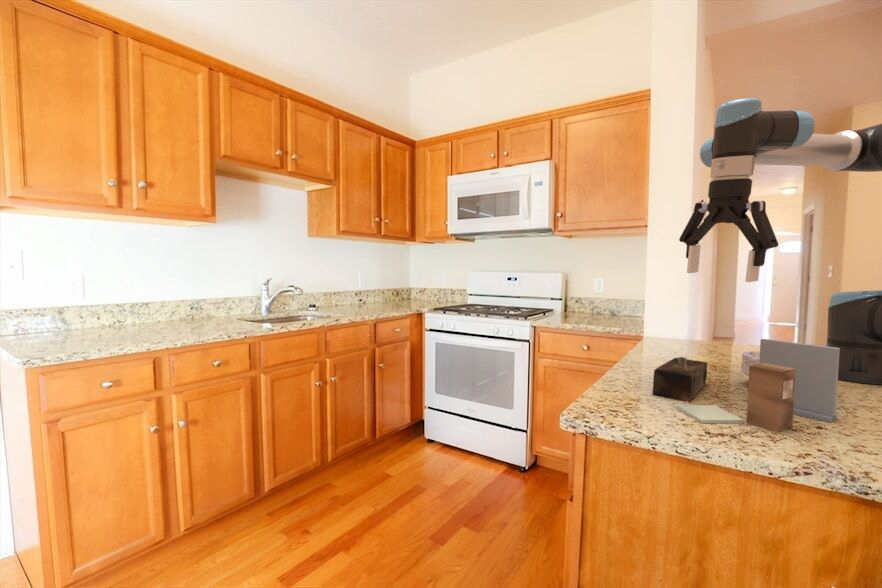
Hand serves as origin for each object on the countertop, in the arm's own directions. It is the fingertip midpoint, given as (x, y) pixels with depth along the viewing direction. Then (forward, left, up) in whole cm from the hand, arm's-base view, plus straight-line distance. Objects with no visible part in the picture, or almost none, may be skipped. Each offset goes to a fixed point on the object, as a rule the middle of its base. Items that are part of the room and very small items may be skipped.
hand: (719, 276), depth 90 cm
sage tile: (+10, +12, -27) cm, 31 cm away
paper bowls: (-19, -5, -28) cm, 34 cm away
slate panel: (-9, +10, -27) cm, 31 cm away
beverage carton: (+5, -5, -28) cm, 29 cm away
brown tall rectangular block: (+2, +17, -27) cm, 32 cm away
